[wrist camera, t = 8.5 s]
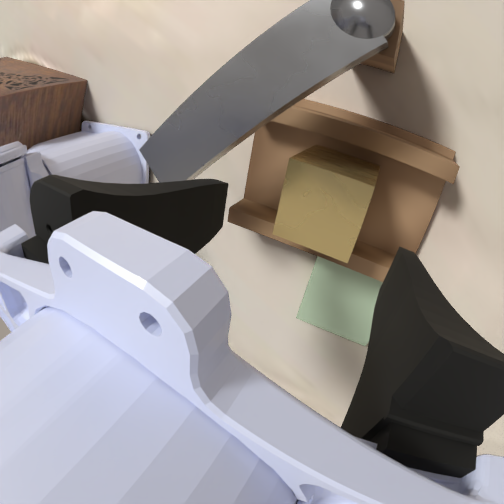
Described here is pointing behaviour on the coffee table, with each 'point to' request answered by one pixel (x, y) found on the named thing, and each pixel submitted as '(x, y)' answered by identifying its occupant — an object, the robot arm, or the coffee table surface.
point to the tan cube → (325, 200)
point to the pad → (340, 301)
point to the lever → (267, 82)
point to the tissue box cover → (38, 103)
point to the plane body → (361, 146)
